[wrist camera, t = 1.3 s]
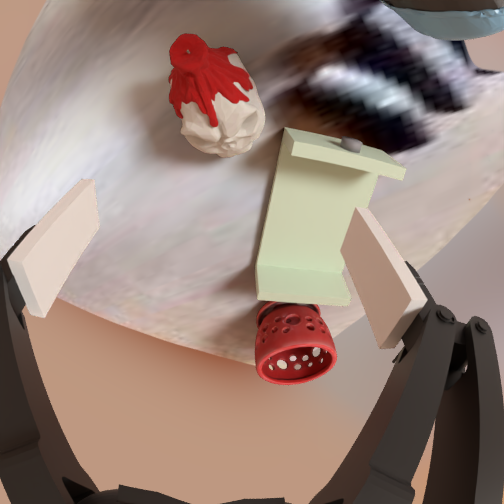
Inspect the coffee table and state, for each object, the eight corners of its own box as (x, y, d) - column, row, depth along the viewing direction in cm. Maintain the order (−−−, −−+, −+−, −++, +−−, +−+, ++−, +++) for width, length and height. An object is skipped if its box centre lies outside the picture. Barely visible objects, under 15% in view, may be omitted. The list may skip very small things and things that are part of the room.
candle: (203, 169, 35) (136, 120, 20) (191, 96, 35) (135, 31, 21) (276, 149, 33) (248, 79, 18) (255, 75, 34) (223, -4, 19)
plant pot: (238, 321, 55) (239, 376, 45) (283, 276, 49) (294, 333, 39) (291, 343, 59) (299, 393, 50) (337, 305, 53) (354, 357, 44)
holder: (286, 118, 34) (296, 130, 28) (384, 142, 36) (409, 159, 30) (253, 273, 48) (255, 305, 42) (334, 281, 50) (345, 311, 44)
